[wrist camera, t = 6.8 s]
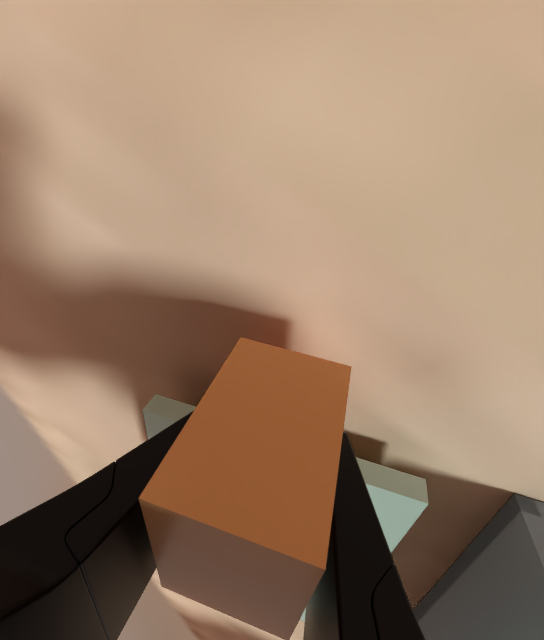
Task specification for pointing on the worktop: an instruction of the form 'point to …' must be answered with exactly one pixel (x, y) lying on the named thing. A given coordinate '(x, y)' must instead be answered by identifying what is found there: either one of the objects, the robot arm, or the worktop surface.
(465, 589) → the tub
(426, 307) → the worktop surface
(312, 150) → the worktop surface
